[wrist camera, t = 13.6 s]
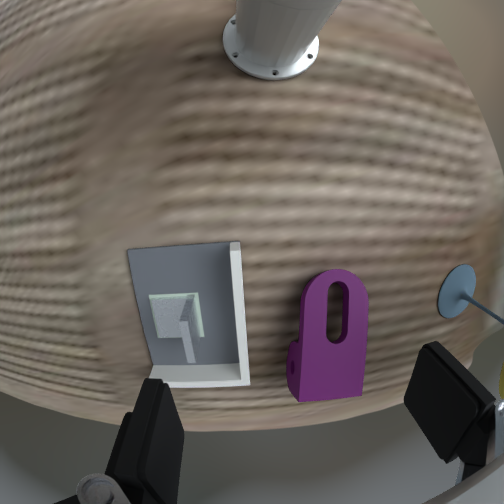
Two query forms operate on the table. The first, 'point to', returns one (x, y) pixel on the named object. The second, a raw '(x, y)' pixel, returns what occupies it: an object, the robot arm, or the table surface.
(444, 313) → the cocktail glass
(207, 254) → the tray
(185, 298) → the angle bracket
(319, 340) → the mounting bracket
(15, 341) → the table surface
